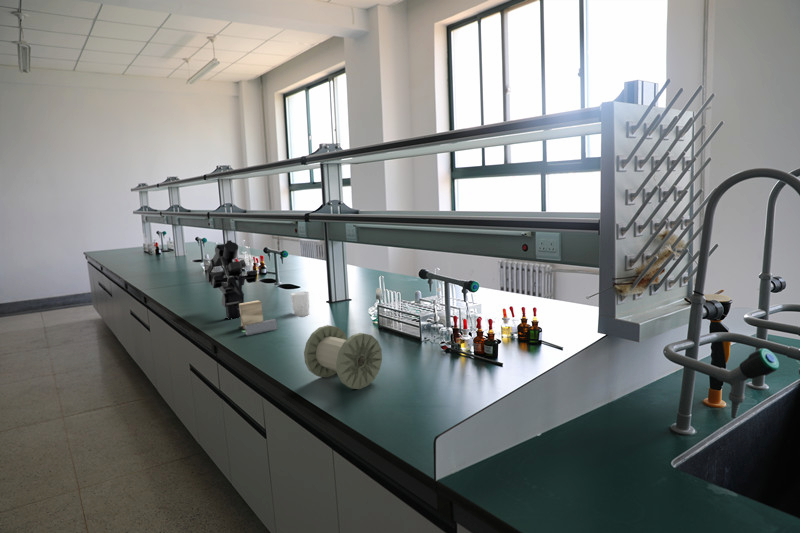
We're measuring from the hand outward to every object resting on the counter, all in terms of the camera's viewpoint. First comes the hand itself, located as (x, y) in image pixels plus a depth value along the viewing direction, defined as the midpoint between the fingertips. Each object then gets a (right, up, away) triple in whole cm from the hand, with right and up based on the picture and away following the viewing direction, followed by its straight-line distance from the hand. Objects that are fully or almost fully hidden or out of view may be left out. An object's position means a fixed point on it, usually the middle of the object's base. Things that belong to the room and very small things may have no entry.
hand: (240, 294), depth 223 cm
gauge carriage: (+8, -13, -9) cm, 17 cm away
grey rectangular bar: (+14, -14, -18) cm, 27 cm away
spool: (+53, -21, -74) cm, 93 cm away
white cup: (+24, -10, +11) cm, 29 cm away
